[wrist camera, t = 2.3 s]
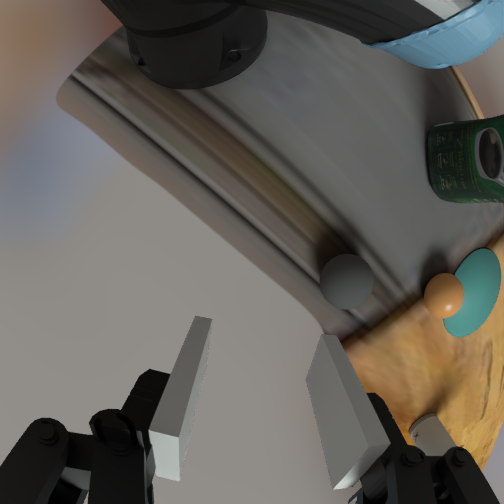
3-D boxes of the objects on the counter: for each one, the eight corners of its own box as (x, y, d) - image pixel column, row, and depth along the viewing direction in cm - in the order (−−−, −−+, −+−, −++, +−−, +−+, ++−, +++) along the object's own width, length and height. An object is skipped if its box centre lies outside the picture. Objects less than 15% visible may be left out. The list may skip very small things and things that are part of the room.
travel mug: (402, 430, 35) (441, 508, 16) (430, 408, 34) (477, 481, 15) (413, 438, 36) (448, 507, 17) (439, 417, 35) (481, 483, 16)
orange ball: (422, 266, 28) (448, 280, 23) (451, 268, 28) (477, 281, 23) (411, 308, 29) (434, 327, 24) (441, 307, 30) (463, 324, 24)
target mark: (457, 243, 28) (458, 244, 27) (507, 252, 28) (508, 252, 28) (431, 340, 31) (431, 340, 30) (484, 332, 31) (485, 333, 31)
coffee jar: (467, 203, 26) (579, 226, 8) (425, 200, 26) (555, 224, 8) (464, 131, 24) (571, 118, 6) (420, 120, 24) (541, 87, 6)
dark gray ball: (318, 246, 28) (333, 259, 22) (365, 250, 28) (388, 264, 22) (310, 295, 29) (322, 318, 24) (356, 297, 29) (375, 318, 24)
